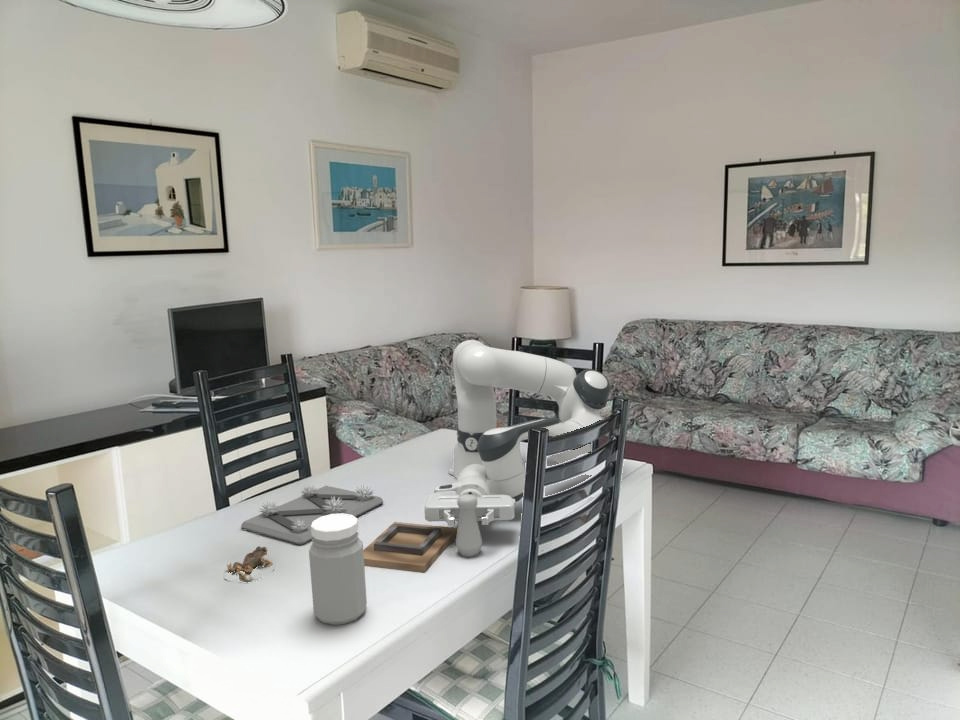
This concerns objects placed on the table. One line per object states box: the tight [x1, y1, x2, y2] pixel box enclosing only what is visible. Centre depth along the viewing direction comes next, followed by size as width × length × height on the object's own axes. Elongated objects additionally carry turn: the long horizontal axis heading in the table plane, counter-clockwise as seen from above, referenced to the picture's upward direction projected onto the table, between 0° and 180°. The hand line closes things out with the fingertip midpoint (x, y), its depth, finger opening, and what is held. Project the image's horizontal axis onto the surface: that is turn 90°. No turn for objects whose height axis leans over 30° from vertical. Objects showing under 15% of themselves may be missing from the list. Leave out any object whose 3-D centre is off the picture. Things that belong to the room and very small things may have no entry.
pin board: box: [363, 521, 458, 573], centre depth 158 cm, size 20×16×3 cm
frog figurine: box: [225, 545, 274, 584], centre depth 150 cm, size 12×12×4 cm
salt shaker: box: [455, 494, 483, 558], centre depth 154 cm, size 6×6×13 cm
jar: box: [308, 513, 368, 626], centre depth 130 cm, size 10×10×18 cm
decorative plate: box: [240, 484, 384, 546], centre depth 179 cm, size 30×22×7 cm
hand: (467, 522), depth 153 cm, fingers open, 6 cm apart
